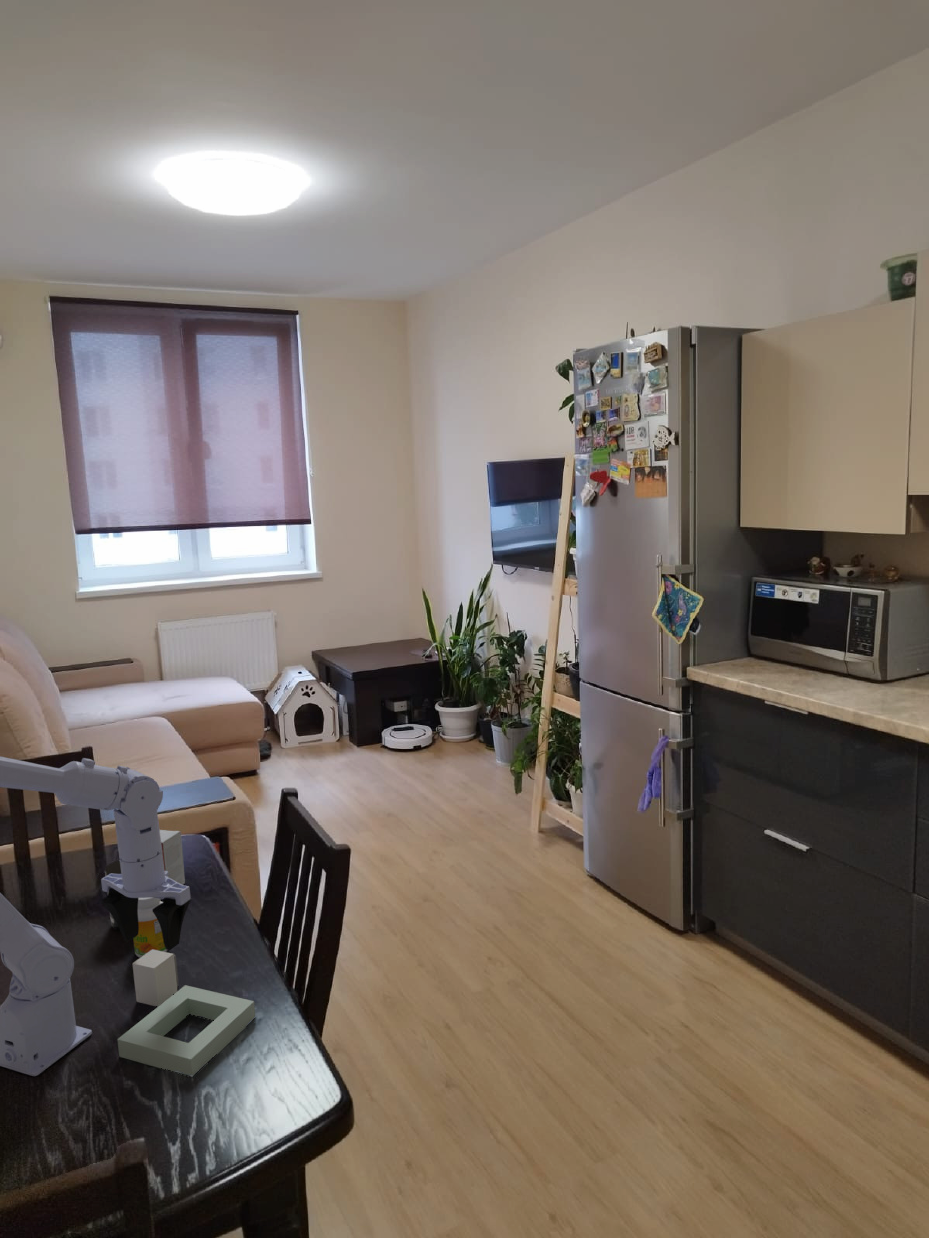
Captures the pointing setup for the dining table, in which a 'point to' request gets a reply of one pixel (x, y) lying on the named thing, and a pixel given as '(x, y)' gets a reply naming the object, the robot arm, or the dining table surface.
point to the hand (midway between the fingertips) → (151, 941)
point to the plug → (155, 977)
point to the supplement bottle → (148, 928)
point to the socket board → (149, 1033)
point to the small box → (173, 855)
